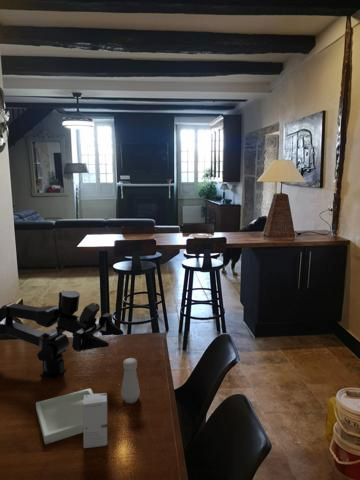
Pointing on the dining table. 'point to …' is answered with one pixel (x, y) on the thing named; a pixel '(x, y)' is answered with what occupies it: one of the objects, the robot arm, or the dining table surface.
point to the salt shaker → (130, 381)
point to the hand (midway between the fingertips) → (116, 338)
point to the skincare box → (95, 420)
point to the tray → (61, 415)
